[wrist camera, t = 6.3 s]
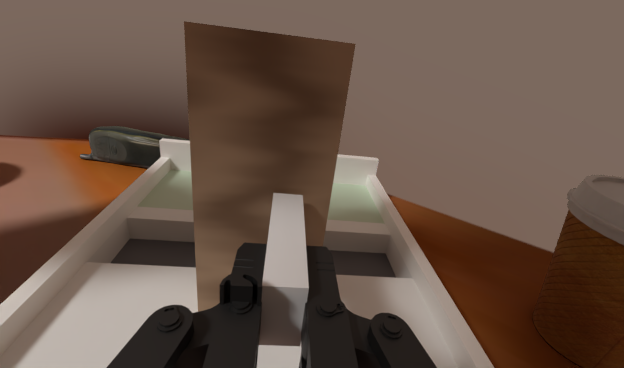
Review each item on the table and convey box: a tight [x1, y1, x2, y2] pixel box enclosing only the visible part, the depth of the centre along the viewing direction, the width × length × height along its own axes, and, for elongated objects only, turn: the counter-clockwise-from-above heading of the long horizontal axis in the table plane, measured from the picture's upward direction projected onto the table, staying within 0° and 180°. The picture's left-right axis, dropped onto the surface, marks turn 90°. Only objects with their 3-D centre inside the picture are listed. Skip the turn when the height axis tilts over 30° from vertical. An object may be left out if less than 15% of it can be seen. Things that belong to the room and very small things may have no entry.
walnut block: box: [184, 22, 355, 312], centre depth 19 cm, size 7×7×16 cm
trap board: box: [0, 138, 494, 368], centre depth 25 cm, size 31×26×6 cm
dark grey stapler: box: [80, 126, 190, 169], centre depth 43 cm, size 5×3×15 cm
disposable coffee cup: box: [533, 175, 624, 368], centre depth 22 cm, size 10×10×12 cm
